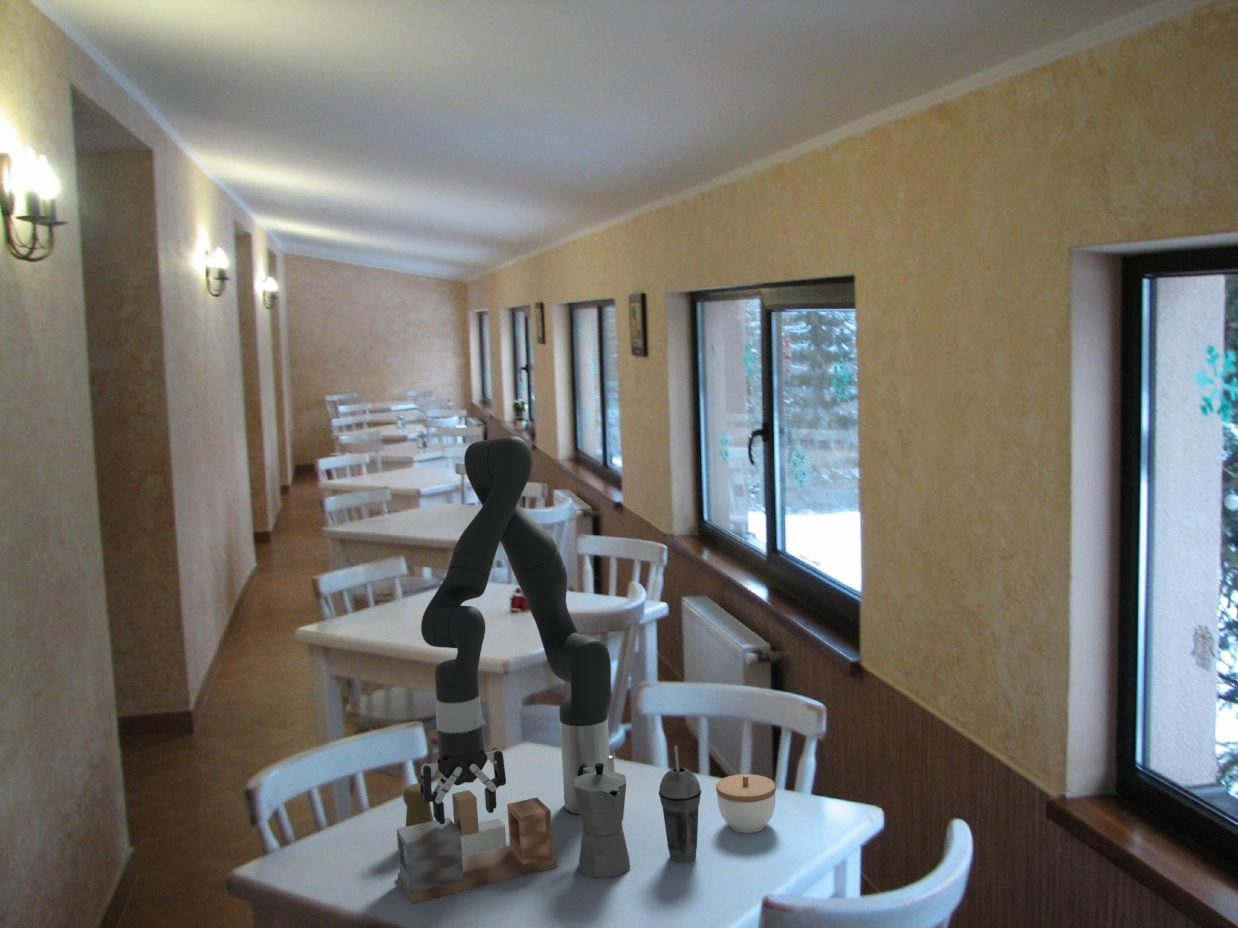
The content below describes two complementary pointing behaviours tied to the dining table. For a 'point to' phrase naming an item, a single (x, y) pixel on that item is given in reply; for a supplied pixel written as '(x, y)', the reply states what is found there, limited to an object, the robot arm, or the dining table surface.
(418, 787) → the cork
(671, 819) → the beverage cup
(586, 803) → the coffeepot
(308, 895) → the dining table surface
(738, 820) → the lidded jar
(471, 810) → the two-tone wooden block
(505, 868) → the block assembly on base
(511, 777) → the dining table surface
